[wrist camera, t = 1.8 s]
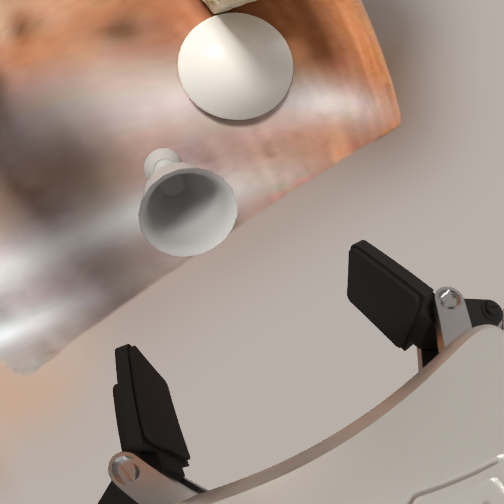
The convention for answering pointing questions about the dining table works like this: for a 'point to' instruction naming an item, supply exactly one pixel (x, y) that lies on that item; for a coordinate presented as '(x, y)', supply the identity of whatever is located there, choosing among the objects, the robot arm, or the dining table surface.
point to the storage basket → (224, 5)
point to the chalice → (184, 206)
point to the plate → (235, 66)
